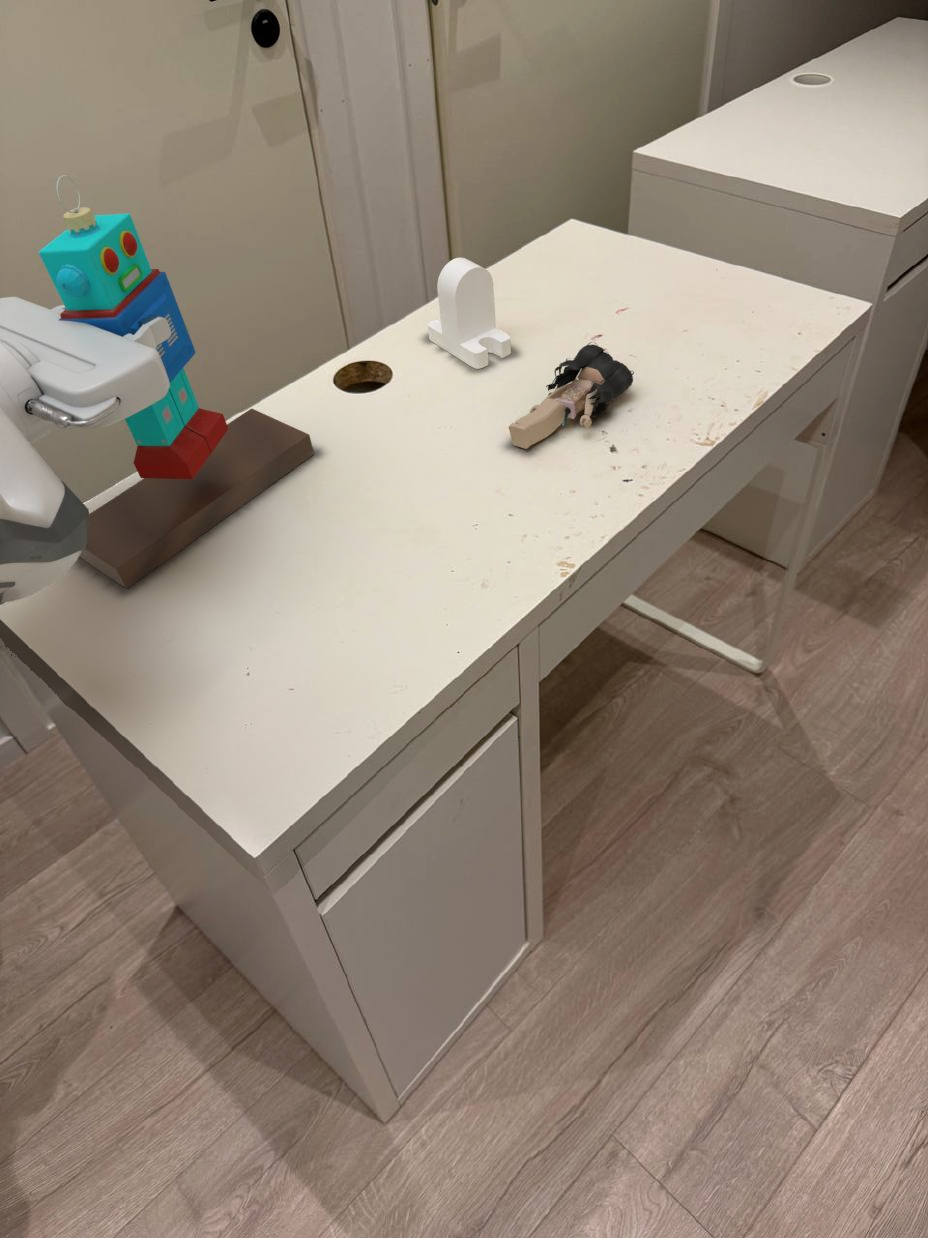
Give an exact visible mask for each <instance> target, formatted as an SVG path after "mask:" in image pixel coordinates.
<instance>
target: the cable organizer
mask: <svg viewBox="0 0 928 1238" xmlns="http://www.w3.org/2000/svg"><path fill="white" fill-rule="evenodd" d="M438 275H439V276H438V279H437V283H436V284H437V288H436V289H437V291H436V292H437V299H438V307H439V317H440V320H439V319H436V318H435V319H434V320H431V321H429V322H428V323H427V332H428V337H429V341H430V342H432V343H433V344H435V345H436V346H438V347H440V348H441V349H442V350H444V351H446V352H447V353H449V354H450V355H452V356H453V357H455V358H457V359H459V360H460V361H461V362H463V363H465V364H466V365H468V366H470V367H471V368H473V369H475V370H480V369H482V368H485V367H486V366H489V365H490V364H489V353H490V354H494V355H496V356H497V357H499V358H501V359H503V358H506V357H508V356H509V355H511V354H512V347H511V336H510V335H509V334H508V333H506V332H505V331H502V330H501V329H500V328H498V327H497V321H496V306H495V304H496V303H495V291H494V290H495V289H494V280H493V276H492V274H491V273H490V271H489V270H488V269H487V268H484V266H483V267H482V266H481V265H479V264H476V263H475V262H473V261H471V260H469V259H467V258H465V257H455V258H454V259H451V260H449V261H448V262H447V263H446V264H445V265H444V267H443V268H442V269H441V271H440V273H439V274H438Z"/></svg>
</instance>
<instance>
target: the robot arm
mask: <svg viewBox="0 0 928 1238" xmlns="http://www.w3.org/2000/svg"><path fill="white" fill-rule="evenodd" d="M65 309H66V308H65V306H64V304H62V305H57V306H55V307H53V308H51V309H50V308H47V307H44V306H42V305H39V304H36V303H34V302H31V301H28V300H26V299H23V298H21V297H19V296H6V297H1V298H0V606H1V605H4V604H5V603H10V602H15V601H19V600H22V599H25V598H27V597H30V596H33V595H35V594H37V593H39V592H40V591H43V590H44V589H46V588H47V587H49V586H50V585H52V584H53V583H55V582H57V580H59V579H60V578H61V577H63V576H64V575H65V574H66V573H67V572H68V571H69V570H70V569H71V568H72V567H73V566H74V565H75V563H76V562H77V561H78V559H79V558H80V557H79V556H80V554H81V552H82V551H83V550H85V548H86V545H87V540H88V532H89V514H90V511H89V508H88V507H87V505H85V504H84V503H83V502H82V501H81V499H80V498H79V497H78V496H77V495H76V494H75V493H74V492H73V491H72V490H71V489H70V487H69V486H68V485H67V484H66V483H65V482H64V481H63V480H60V478H59V477H58V476H57V474H56V473H55V472H54V471H53V470H52V468H51V467H50V466H49V465H48V464H47V462H46V461H45V460H44V458H43V457H42V456H41V455H40V454H39V452H38V451H37V450H36V448H35V447H34V446H33V444H35V443H36V442H38V441H40V440H41V439H43V438H44V437H46V436H47V435H49V434H50V433H51V432H52V429H53V425H55V426H57V427H58V428H61V429H62V430H63V429H64V430H72V429H73V428H82V429H85V430H99V429H104V428H107V427H109V426H113V425H114V424H117V423H119V422H122V421H123V420H125V418H127V417H130V416H131V415H133V414H135V413H137V412H139V411H141V410H143V409H145V408H147V407H148V406H150V405H152V404H154V403H156V402H157V401H159V400H161V399H162V398H163V397H165V396H166V394H167V392H168V390H169V387H170V382H169V379H168V376H167V373H166V370H165V367H164V365H163V362H162V360H161V357H160V355H159V353H158V352H157V351H156V350H155V349H156V347H157V345H159V344H160V343H162V342H164V341H165V340H167V339H169V337H170V336H171V330H170V327H169V324H168V322H167V320H166V319H165V318H162V317H159V316H156V315H152V314H151V315H149V316H148V317H147V318H143V319H142V320H140V321H138V324H139V326H140V329H139V330H138V331H137V332H136V333H135V334H134V335H133V334H127V335H125V336H123V337H122V336H119V335H116V334H114V333H111V332H108V331H106V330H103V329H100V328H98V327H95V326H92V325H90V324H87V323H81V322H72V321H59V319H60V318H61V316H60V314H61V313H62V312H63V311H64V310H65Z"/></svg>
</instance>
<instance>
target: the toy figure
mask: <svg viewBox="0 0 928 1238" xmlns="http://www.w3.org/2000/svg"><path fill="white" fill-rule="evenodd" d="M592 343H595V344H592ZM563 367H564V368H563ZM562 369H563V371H562ZM557 371H558V375H557ZM634 374H635V371H634V370H630V369H629V367H627V365H625V364H624V363H623V362H620V361H618V360H616V359H615V360H614V358H613V356H612V355H610V354H609V353H608V352H605V349H604V348H603V347H602V346H599V345H598V344H596V342H595V341H590V342H589V343H588V344H586V345H584V346H582V347H581V349H579V351H578V352H577V354H576V355H575V356H574V357H573V358H571V357H570V359H569V357H567V358H565V361H563V362H560V363H559V364H558V366H557V367H555V369H554V379H553V381H552V383H550V384H546V386H545V388H547V391H548V392H549V393H548V395H547V396H546V398H544V399H543V401H541V402H540V403H539V404H534V405H532V407H531V408H530V409H529V413H528V414H525V415H524V416H522V417H519V418H518V419H516V420H515V422H512V423H511V424H509V426H508V429H509V435H510V439H511V444H512V445H513V446H514V447H518V448H522V449H525V450H527V449H529V448H530V447H531V446H532V445H534V444H537V443H538V442H540V441H542V440H544V439H546V438H547V437H549V436H550V435H552V434H553V433H554V432H555V431H556V430H557V429H558V428H559V427H560V426H561V425H562V427H564V426H565V424H566V422H567V420H568V419H570V420H571V419H572V420H575V418H576V417H577V414H578V413H580V412H581V411H583V410H584V414H583V415H582V416H581V417H580V418H579V420H578V421H579V424H580V427H583V426H584V428H585V430H587V429H589V428H590V427H591V426H592V423H593V421H595V420H597V417H600V416H601V417H603V416H604V415H605V414H606V413H607V411H608V408H609V404H610V403H612V402H613V400H614V399H616V398H618V397H620V396H622V395H626V394H627V393H628V392H629V391H630V388H631V386H633V385H632V384H633V382H634V377H633V375H634ZM551 390H553V391H552V392H550V391H551ZM626 391H627V392H626ZM595 417H596V418H595ZM592 420H593V421H592Z"/></svg>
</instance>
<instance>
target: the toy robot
mask: <svg viewBox="0 0 928 1238" xmlns="http://www.w3.org/2000/svg"><path fill="white" fill-rule="evenodd" d="M62 178H67V179H69V180H71V182H72V183H73V184H74V187H75V188H76V192H77V194H78V195H77V196H78V205H77V208H76V207H74V208H73V209H70V210H69V209H68V208H67V207H66V206H65V205H64V204H63V201H62V200H61V196H60V193H59V183H60V181H61V179H62ZM56 195H57V198H58V201H59V203H60V205H61V206H62V207H63V209H64V210H65V211H66V212H65V213H64V214H63V219H64V223H65V225H66V230H64V231H63V232H61V233H60V234H59V235H58V236H56V237H55V238H54V239H53V240H52V241H50V242H49V243H48V244H47V245H45V246H44V247H42V248H41V249H40V250H39V251H38V255H39V256H40V259H41V261H42V263H43V265H44V267H45V269H46V271H47V273H48V275H49V277H50V279H51V281H52V283H53V285H54V288H55V290H56V291H57V293H58V296H59V298H60V299H61V302H62V303H63V304H62V305H64V306H65V308H66V309H65V310H64V311H63V312H62V313H61V314H60V316H61V318H60V319H59V321H72V322H81V323H87V324H90V325H92V326H95V327H98V328H100V329H103V330H106V331H108V332H111V333H114V334H116V335H119V336H122V337H123V336H125V335H127V334H133V335H134V334H135V333H136V332H137V331H138V330H139V329H140V326H139V324H138V321H140V320H142V319H143V318H147V317H148V316H149V315H151V314H152V315H156V316H159V317H162V318H165V319H166V320H167V322H168V324H169V327H170V330H171V336H170V337H169V339H167V340H165V341H164V342H162V343H160V344H159V345H157V347H156V349H155V350H156V351H157V352H158V353H159V355H160V357H161V360H162V362H163V365H164V367H165V370H166V373H167V376H168V379H169V382H170V387H169V390H168V392H167V394H166V396H165V397H163V398H162V399H161V400H159V401H157V402H156V403H154V404H152V405H150V406H148V407H147V408H145V409H143V410H141V411H139V412H137V413H135V414H133V415H131V416H130V417H127V418H125V419H124V421H125V423H126V425H127V427H128V429H129V431H130V433H131V436H132V438H133V440H134V442H135V444H136V451H135V454H134V458H133V459H134V460H133V465H134V468H135V469H136V471H137V474H138V476H139V478H140V479H144V478H157V479H193V478H194V477H195V476H196V474H197V473H198V471H199V470H200V469H201V467H202V466H203V464H204V463H205V461H206V460H207V459H208V457H209V456H210V454H211V453H212V452H213V450H214V449H215V447H216V446H217V445H218V443H219V442H220V440H221V439H222V438H223V436H224V435H225V433H226V432H227V430H228V426H227V424H228V423H227V420H226V419H225V416H224V413H222V412H221V413H220V412H217V411H212V410H208V409H204V408H200V406H199V404H198V401H197V399H196V396H195V393H194V391H193V388H192V387H191V383H190V381H189V378H188V376H187V373H186V370H185V368H184V367H185V366H186V365H187V364H188V363H189V362H190V360H191V359H192V358H193V357H194V355H196V349H195V347H194V344H193V341H192V339H191V335H190V334H189V327H188V326H187V324H186V323H185V321H184V318H183V315H182V312H181V310H180V308H179V304H178V301H177V299H176V297H175V294H174V292H173V289H172V286H171V283H170V281H169V278H168V276H167V273H166V272H165V271H160V268H152V267H151V265H150V262H149V259H148V257H147V255H146V252H145V250H144V247H143V244H142V241H141V239H140V236H139V234H138V231H137V228H136V226H135V223H134V221H133V218H132V215H131V214H130V213H113V214H100V215H99V214H98V215H94V214H93V212H92V210H91V208H90V207H86V206H82V207H81V199H82V198H81V192H80V190H79V187H78V185H77V183H76V182H75V180H74V179H73V178H72V177H70V176H69V175H66V174H63V175H60V176H59V177H58V179H57V181H56Z"/></svg>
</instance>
